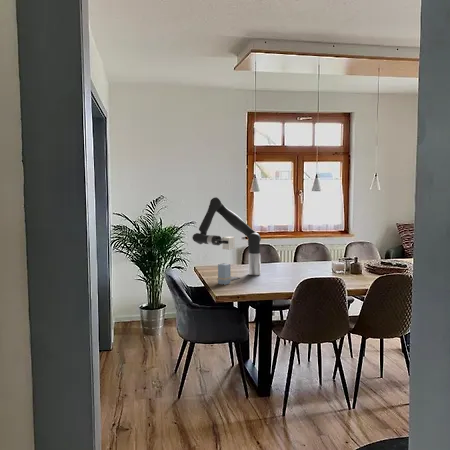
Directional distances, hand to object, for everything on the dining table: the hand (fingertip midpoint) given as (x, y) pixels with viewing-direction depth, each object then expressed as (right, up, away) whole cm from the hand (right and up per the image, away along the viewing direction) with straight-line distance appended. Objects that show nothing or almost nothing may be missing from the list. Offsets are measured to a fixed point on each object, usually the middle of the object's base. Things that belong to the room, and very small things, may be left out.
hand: (230, 241), depth 350 cm
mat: (-2, -28, +4) cm, 28 cm away
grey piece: (-5, -30, -14) cm, 33 cm away
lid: (-2, -5, +2) cm, 6 cm away
